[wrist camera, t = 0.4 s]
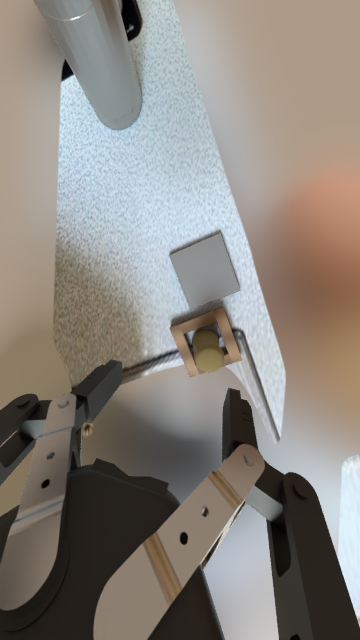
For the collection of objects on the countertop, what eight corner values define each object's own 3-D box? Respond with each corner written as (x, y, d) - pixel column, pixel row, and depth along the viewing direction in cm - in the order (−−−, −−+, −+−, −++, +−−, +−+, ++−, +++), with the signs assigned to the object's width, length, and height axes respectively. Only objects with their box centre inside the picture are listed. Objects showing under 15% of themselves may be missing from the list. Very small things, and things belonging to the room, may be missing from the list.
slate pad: (169, 256, 37) (169, 255, 36) (219, 234, 36) (220, 232, 35) (190, 309, 39) (190, 309, 38) (239, 290, 38) (240, 290, 37)
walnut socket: (170, 326, 40) (169, 328, 38) (221, 307, 39) (223, 308, 37) (190, 373, 42) (189, 377, 40) (239, 356, 40) (242, 359, 38)
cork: (218, 354, 41) (228, 378, 30) (192, 354, 41) (191, 378, 30) (219, 328, 39) (229, 343, 29) (191, 328, 40) (191, 343, 29)
